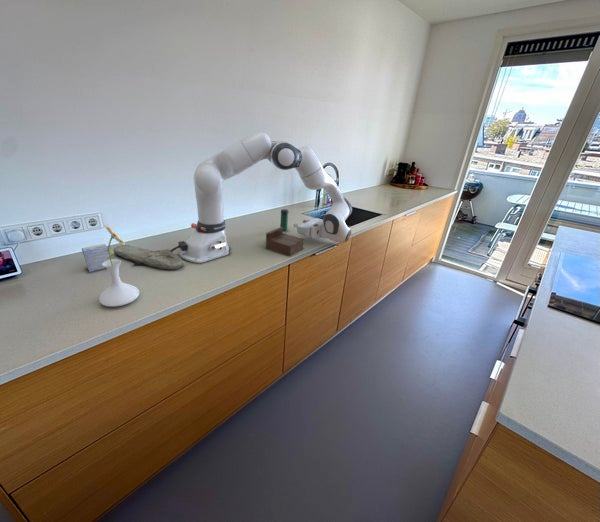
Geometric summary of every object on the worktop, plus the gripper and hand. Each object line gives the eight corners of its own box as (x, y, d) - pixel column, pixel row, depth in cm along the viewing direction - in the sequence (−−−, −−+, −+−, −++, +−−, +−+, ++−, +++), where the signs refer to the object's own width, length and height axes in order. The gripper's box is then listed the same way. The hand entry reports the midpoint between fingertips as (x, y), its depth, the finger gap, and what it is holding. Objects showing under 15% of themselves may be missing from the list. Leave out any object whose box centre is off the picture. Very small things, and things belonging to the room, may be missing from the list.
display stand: (289, 256, 134) (290, 240, 131) (265, 248, 141) (266, 233, 137) (302, 248, 144) (304, 233, 140) (280, 241, 150) (280, 226, 146)
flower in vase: (136, 308, 91) (120, 234, 81) (95, 312, 88) (72, 236, 77) (144, 287, 103) (130, 220, 92) (107, 290, 99) (89, 221, 88)
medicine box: (110, 262, 117) (105, 243, 113) (113, 266, 114) (108, 246, 110) (87, 268, 112) (81, 247, 108) (89, 272, 109) (83, 251, 105)
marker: (284, 232, 163) (285, 211, 157) (278, 230, 164) (279, 210, 159) (288, 230, 166) (289, 210, 161) (282, 228, 168) (283, 208, 162)
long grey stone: (128, 250, 131) (108, 259, 123) (125, 239, 129) (104, 248, 120) (190, 262, 120) (173, 274, 112) (188, 251, 118) (170, 262, 109)
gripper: (330, 218, 158) (308, 213, 164) (312, 227, 142) (289, 221, 148) (329, 229, 161) (308, 223, 167) (311, 239, 145) (288, 233, 151)
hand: (299, 223), depth 158 cm, fingers open, 8 cm apart
